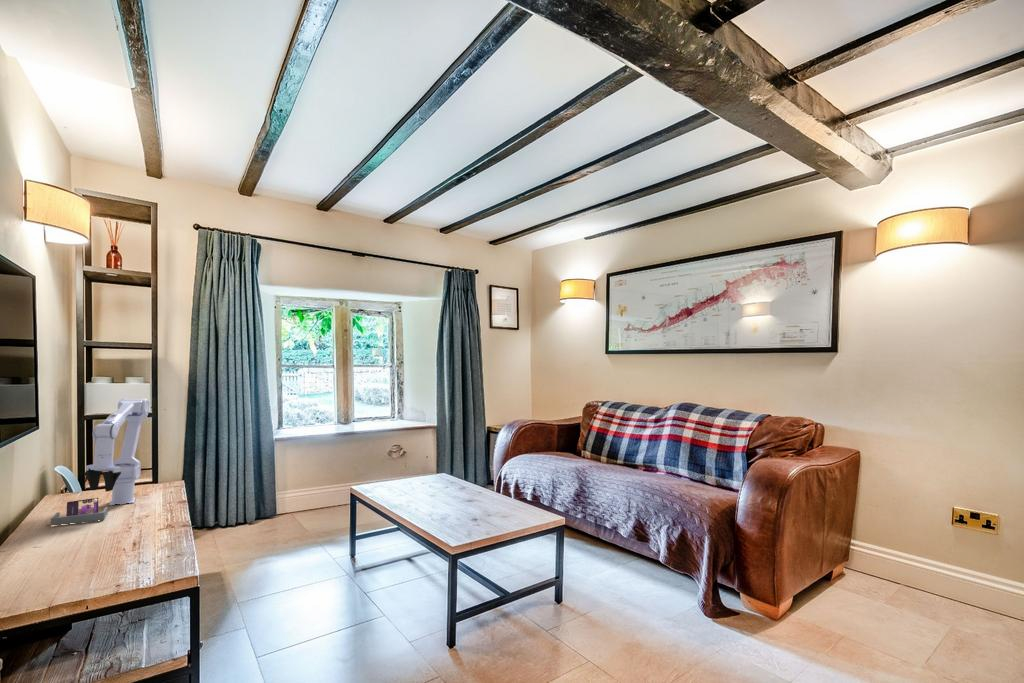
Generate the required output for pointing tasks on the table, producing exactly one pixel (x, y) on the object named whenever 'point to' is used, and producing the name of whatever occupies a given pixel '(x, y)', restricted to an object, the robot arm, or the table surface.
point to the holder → (78, 518)
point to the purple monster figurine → (74, 505)
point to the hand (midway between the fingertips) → (101, 490)
